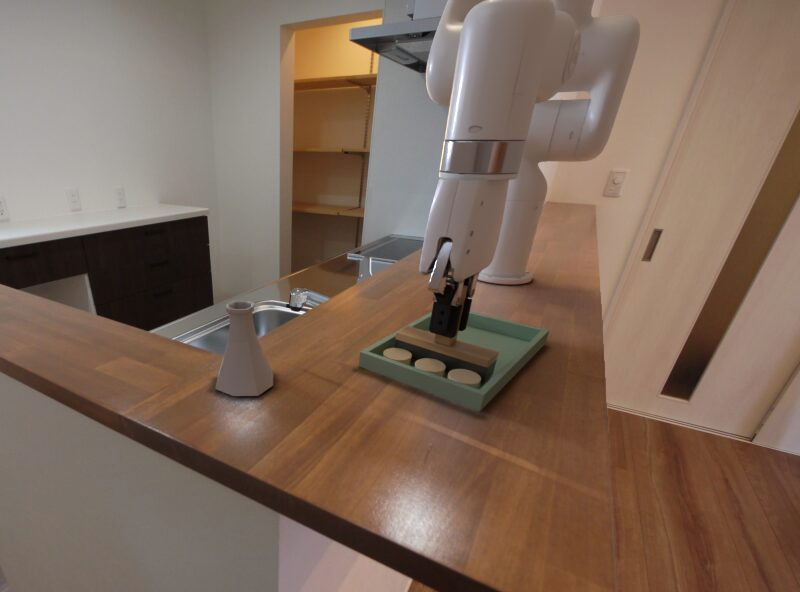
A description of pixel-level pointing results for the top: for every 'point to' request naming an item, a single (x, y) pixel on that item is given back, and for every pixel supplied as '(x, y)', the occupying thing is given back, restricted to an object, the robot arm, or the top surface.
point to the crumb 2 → (431, 366)
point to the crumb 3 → (465, 377)
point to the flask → (243, 355)
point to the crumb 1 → (398, 355)
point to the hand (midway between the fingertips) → (447, 330)
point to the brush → (448, 348)
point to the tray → (481, 330)
